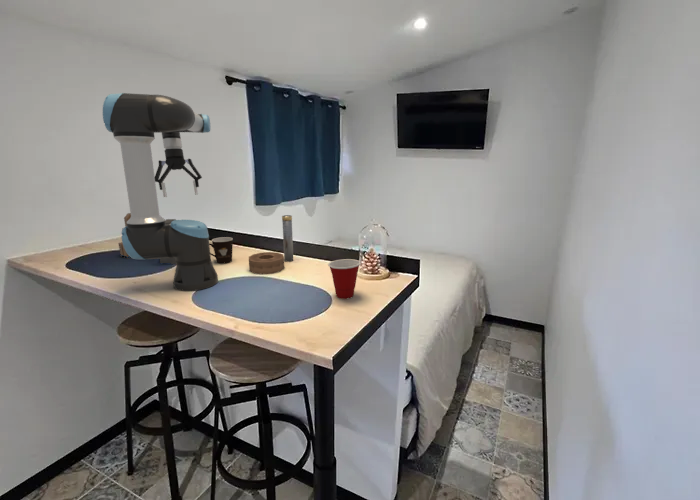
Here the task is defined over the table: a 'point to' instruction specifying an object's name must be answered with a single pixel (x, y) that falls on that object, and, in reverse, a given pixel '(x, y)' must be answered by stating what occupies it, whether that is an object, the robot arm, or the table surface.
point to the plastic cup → (344, 276)
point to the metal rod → (287, 238)
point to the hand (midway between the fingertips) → (181, 195)
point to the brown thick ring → (266, 263)
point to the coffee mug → (222, 249)
